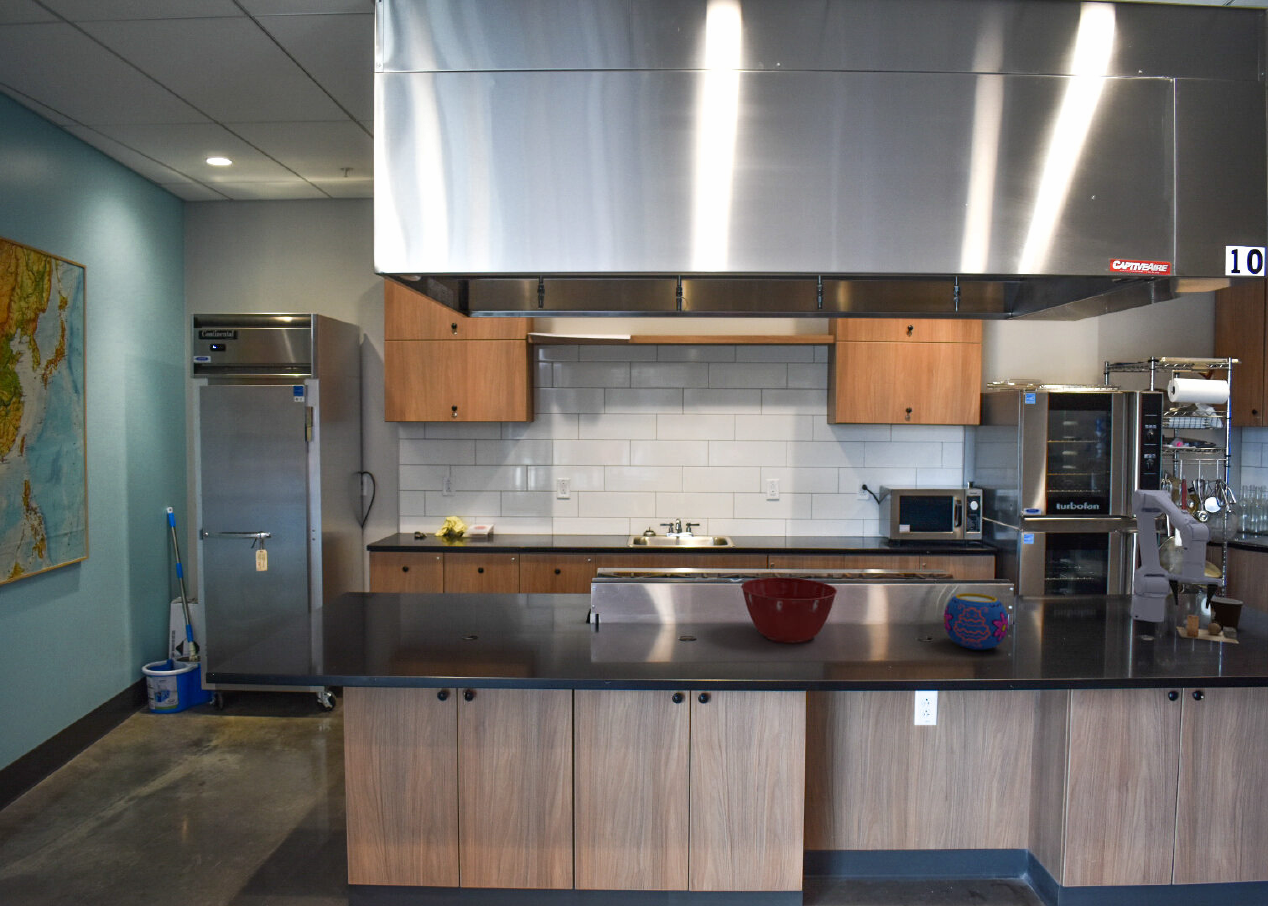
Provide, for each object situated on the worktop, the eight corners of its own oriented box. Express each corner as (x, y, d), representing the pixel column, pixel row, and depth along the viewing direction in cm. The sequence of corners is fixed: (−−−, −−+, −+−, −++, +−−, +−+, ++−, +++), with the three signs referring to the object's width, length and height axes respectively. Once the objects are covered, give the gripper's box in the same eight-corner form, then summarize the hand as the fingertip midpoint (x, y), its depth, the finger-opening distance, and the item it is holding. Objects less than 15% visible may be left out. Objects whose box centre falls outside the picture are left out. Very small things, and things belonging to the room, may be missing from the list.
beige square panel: (1180, 639, 251) (1181, 628, 251) (1176, 629, 264) (1176, 619, 263) (1238, 646, 245) (1239, 635, 244) (1231, 635, 257) (1231, 625, 256)
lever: (1183, 625, 263) (1184, 607, 263) (1195, 627, 261) (1196, 608, 261) (1186, 635, 251) (1187, 616, 251) (1199, 637, 249) (1200, 618, 249)
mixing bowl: (837, 654, 232) (839, 600, 231) (736, 647, 238) (737, 594, 237) (833, 628, 260) (835, 580, 259) (743, 622, 265) (744, 575, 264)
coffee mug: (1240, 636, 256) (1242, 605, 255) (1207, 632, 261) (1208, 601, 260) (1241, 629, 265) (1242, 598, 265) (1208, 624, 270) (1210, 594, 270)
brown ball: (1208, 623, 253) (1222, 624, 252) (1206, 621, 256) (1220, 623, 255) (1208, 634, 253) (1222, 636, 251) (1205, 633, 256) (1219, 634, 255)
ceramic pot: (1010, 645, 243) (1012, 595, 243) (1003, 660, 228) (1005, 607, 227) (948, 636, 252) (950, 587, 251) (937, 650, 237) (939, 599, 236)
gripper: (1165, 561, 251) (1163, 605, 252) (1223, 567, 243) (1221, 612, 244) (1165, 558, 257) (1163, 601, 258) (1222, 563, 249) (1220, 607, 250)
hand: (1191, 606), depth 251 cm, fingers open, 7 cm apart
